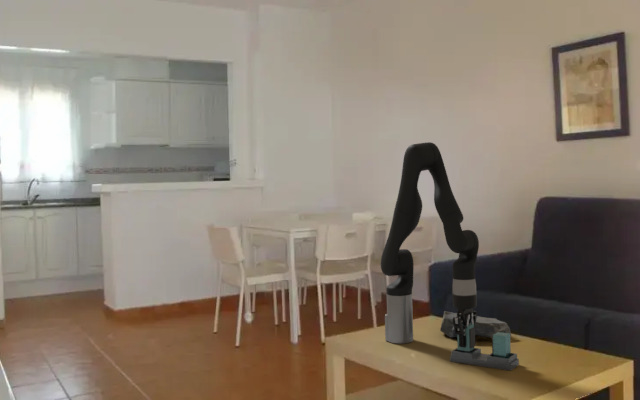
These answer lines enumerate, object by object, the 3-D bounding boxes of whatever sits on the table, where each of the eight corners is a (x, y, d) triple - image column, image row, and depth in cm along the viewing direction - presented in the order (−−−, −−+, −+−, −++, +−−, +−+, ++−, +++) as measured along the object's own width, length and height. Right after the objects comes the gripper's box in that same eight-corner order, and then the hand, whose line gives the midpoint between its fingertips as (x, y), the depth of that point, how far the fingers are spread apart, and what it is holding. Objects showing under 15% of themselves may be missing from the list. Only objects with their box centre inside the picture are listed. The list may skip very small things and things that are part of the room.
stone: (440, 307, 264) (506, 307, 259) (440, 328, 264) (506, 328, 260) (439, 320, 241) (511, 320, 236) (440, 343, 241) (512, 344, 237)
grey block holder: (450, 361, 217) (449, 330, 217) (459, 356, 223) (458, 326, 222) (510, 370, 205) (510, 338, 205) (518, 364, 211) (518, 333, 210)
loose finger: (470, 351, 214) (470, 326, 214) (457, 349, 217) (456, 325, 216) (475, 348, 217) (475, 324, 217) (462, 347, 220) (462, 322, 220)
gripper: (466, 297, 209) (467, 352, 209) (484, 289, 220) (485, 342, 221) (443, 295, 213) (445, 349, 214) (462, 288, 225) (464, 339, 225)
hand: (465, 345), depth 217 cm, fingers closed on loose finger, 4 cm apart
